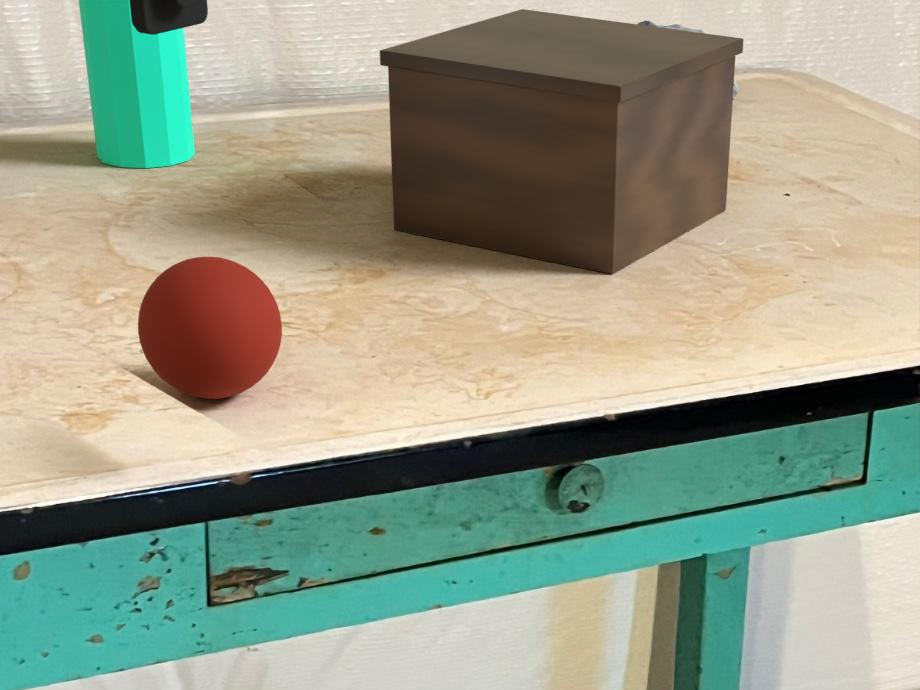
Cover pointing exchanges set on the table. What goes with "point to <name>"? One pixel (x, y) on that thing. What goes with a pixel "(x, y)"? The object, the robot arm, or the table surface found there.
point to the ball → (209, 327)
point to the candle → (136, 89)
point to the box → (560, 135)
